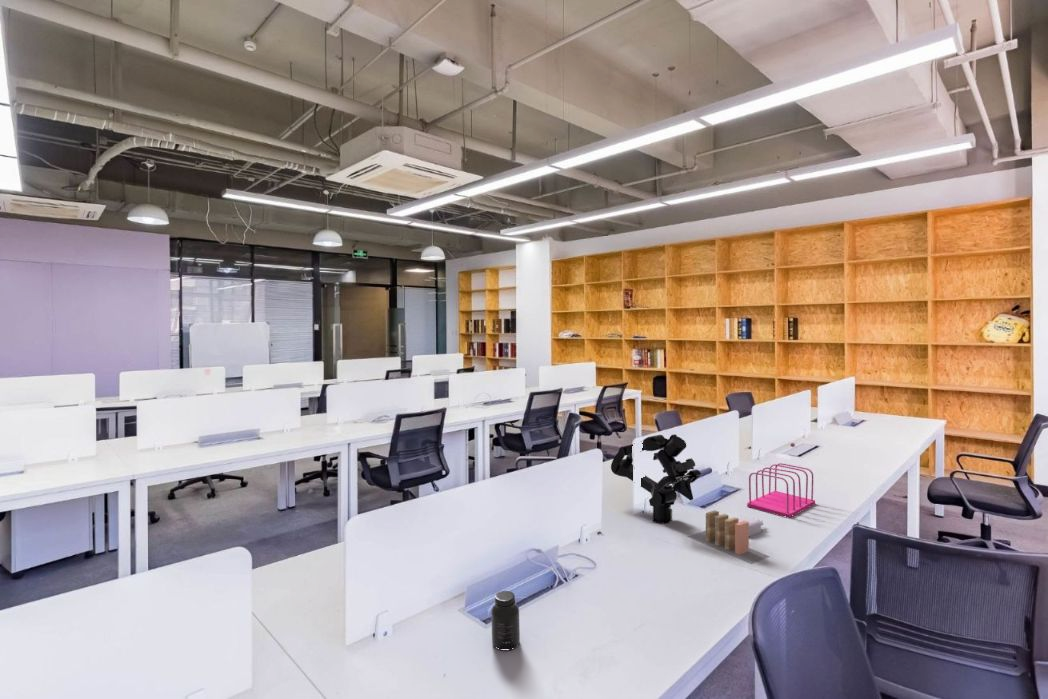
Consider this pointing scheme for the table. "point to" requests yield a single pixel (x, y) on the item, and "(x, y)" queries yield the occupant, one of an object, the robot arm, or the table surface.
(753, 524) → the charger
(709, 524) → the domino
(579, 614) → the table surface
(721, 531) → the domino
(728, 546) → the domino
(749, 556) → the domino mat
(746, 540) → the domino
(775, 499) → the file sorter
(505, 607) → the supplement bottle
